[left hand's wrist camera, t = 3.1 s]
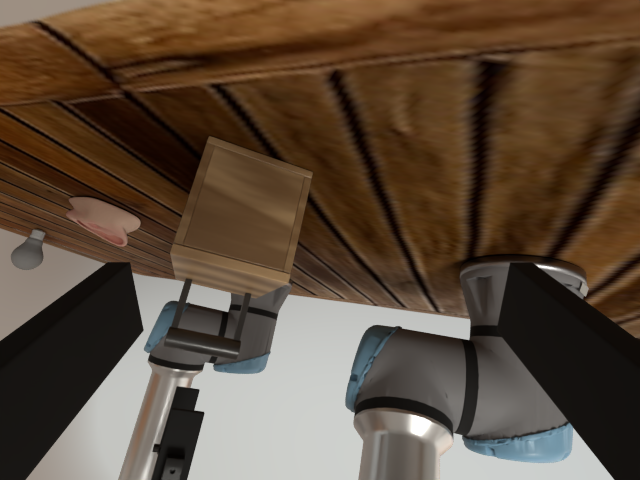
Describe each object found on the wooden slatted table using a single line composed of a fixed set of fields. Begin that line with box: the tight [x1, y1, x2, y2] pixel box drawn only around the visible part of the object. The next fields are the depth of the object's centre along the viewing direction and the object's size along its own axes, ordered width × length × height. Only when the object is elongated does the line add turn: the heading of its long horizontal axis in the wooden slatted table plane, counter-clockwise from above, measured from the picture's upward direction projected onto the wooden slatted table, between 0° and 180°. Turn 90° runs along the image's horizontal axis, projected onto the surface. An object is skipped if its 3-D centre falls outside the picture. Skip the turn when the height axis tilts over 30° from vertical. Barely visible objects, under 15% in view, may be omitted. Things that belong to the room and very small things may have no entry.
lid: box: [163, 244, 290, 360], centre depth 36 cm, size 16×10×8 cm, turn 160°
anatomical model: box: [66, 197, 140, 246], centre depth 61 cm, size 13×4×12 cm
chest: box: [174, 136, 313, 274], centre depth 39 cm, size 15×10×10 cm, turn 160°
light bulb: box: [11, 229, 46, 270], centre depth 86 cm, size 6×6×10 cm
